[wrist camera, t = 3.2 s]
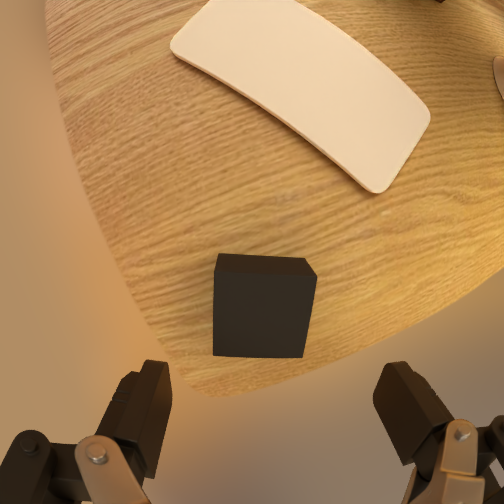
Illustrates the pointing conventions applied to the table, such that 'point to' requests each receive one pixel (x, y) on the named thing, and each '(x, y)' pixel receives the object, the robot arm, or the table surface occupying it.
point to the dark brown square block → (261, 306)
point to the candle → (499, 73)
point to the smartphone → (309, 82)
